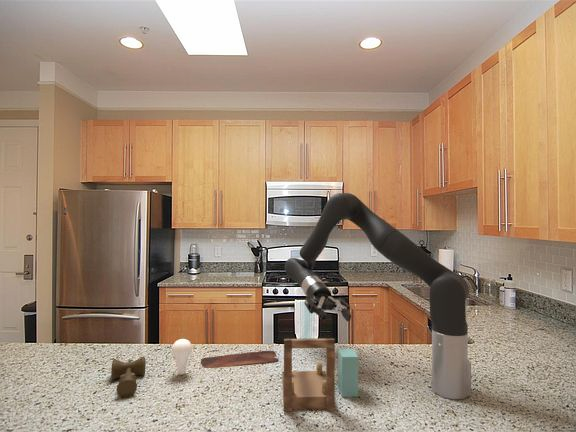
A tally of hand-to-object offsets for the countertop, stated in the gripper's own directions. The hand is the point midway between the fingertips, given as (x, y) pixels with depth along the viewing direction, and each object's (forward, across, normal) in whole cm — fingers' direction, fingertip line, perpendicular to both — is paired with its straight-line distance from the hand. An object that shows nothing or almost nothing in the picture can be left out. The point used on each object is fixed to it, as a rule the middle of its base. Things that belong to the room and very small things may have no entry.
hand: (337, 318), depth 103 cm
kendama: (-14, -56, +33) cm, 66 cm away
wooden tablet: (-18, -21, +30) cm, 40 cm away
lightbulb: (-13, -40, +30) cm, 52 cm away
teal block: (+13, +1, +15) cm, 20 cm away
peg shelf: (+10, -10, +18) cm, 23 cm away
